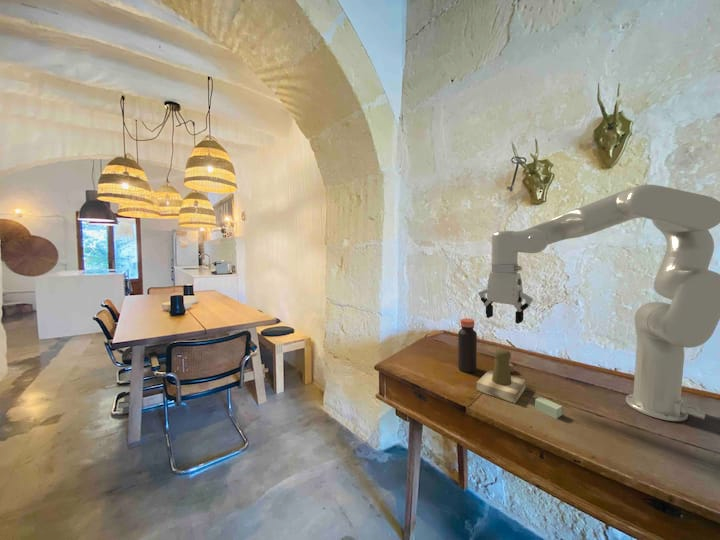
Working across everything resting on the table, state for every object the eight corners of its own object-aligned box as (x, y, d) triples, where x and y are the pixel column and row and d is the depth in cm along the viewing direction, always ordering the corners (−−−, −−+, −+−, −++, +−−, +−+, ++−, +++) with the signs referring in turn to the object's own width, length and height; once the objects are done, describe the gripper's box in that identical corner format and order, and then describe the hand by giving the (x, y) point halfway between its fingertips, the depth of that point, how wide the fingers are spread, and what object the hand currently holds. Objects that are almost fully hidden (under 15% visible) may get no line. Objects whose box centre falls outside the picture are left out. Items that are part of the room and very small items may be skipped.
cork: (509, 387, 93) (510, 354, 92) (489, 382, 97) (490, 350, 95) (513, 379, 98) (513, 348, 97) (494, 375, 101) (494, 345, 100)
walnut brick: (510, 370, 112) (510, 362, 111) (513, 373, 109) (513, 366, 108) (494, 369, 112) (494, 362, 112) (497, 373, 109) (497, 365, 109)
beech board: (525, 388, 98) (525, 379, 97) (515, 403, 89) (515, 394, 89) (489, 377, 106) (489, 369, 106) (476, 390, 97) (476, 382, 97)
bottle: (473, 365, 116) (473, 317, 114) (478, 373, 109) (479, 322, 107) (456, 365, 117) (456, 317, 115) (460, 373, 110) (460, 322, 108)
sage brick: (561, 416, 82) (562, 406, 82) (556, 419, 81) (556, 409, 81) (540, 405, 88) (540, 396, 87) (534, 409, 86) (534, 399, 86)
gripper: (538, 269, 89) (536, 322, 91) (485, 266, 103) (484, 313, 104) (527, 271, 84) (526, 327, 86) (473, 268, 98) (473, 317, 100)
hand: (503, 319), depth 95 cm, fingers open, 9 cm apart
